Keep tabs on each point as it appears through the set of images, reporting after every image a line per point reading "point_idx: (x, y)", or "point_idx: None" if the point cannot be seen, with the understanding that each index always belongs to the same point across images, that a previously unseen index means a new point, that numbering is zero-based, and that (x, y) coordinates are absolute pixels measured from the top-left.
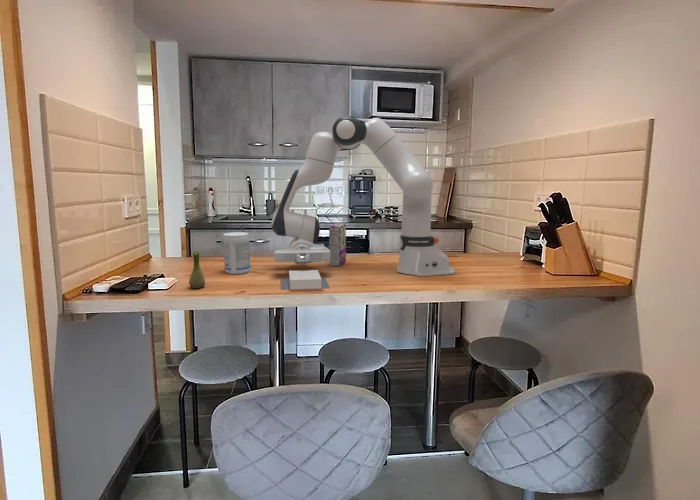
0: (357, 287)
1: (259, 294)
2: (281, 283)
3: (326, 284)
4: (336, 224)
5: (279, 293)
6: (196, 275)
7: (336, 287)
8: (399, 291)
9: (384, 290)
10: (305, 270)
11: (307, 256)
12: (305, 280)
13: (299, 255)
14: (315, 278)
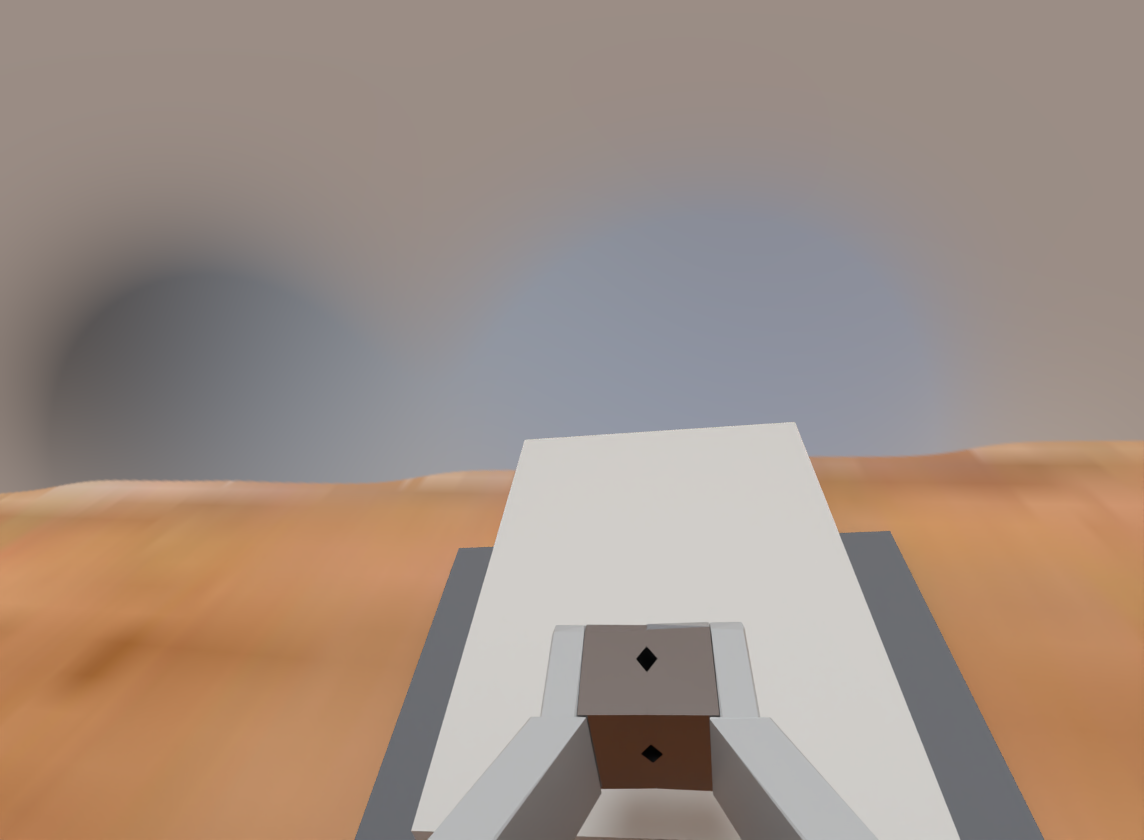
0: (227, 589)
1: (1031, 464)
2: (989, 761)
3: (436, 661)
4: None
5: (871, 480)
6: None
7: (384, 599)
8: (80, 500)
9: (133, 519)
10: (630, 825)
11: (556, 632)
12: (660, 437)
13: (753, 751)
14: (569, 454)
